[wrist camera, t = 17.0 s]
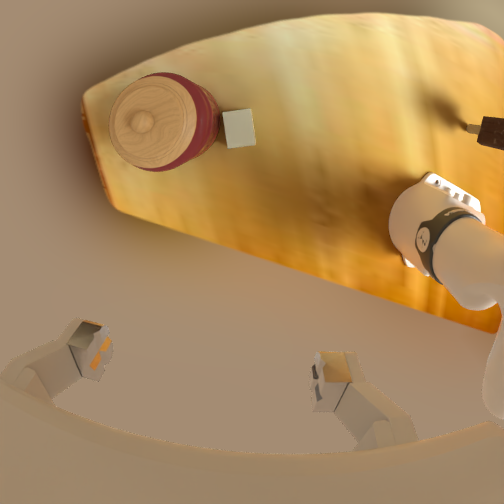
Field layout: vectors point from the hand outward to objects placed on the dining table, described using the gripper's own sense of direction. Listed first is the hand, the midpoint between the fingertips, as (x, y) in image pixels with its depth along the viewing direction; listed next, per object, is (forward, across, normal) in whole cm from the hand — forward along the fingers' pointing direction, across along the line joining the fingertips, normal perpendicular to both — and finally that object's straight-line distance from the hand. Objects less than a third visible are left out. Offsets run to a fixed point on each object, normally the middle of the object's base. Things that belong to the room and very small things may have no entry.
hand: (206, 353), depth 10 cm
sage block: (+35, +2, -7) cm, 36 cm away
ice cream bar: (+39, -39, -16) cm, 58 cm away
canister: (+39, +12, -8) cm, 42 cm away
